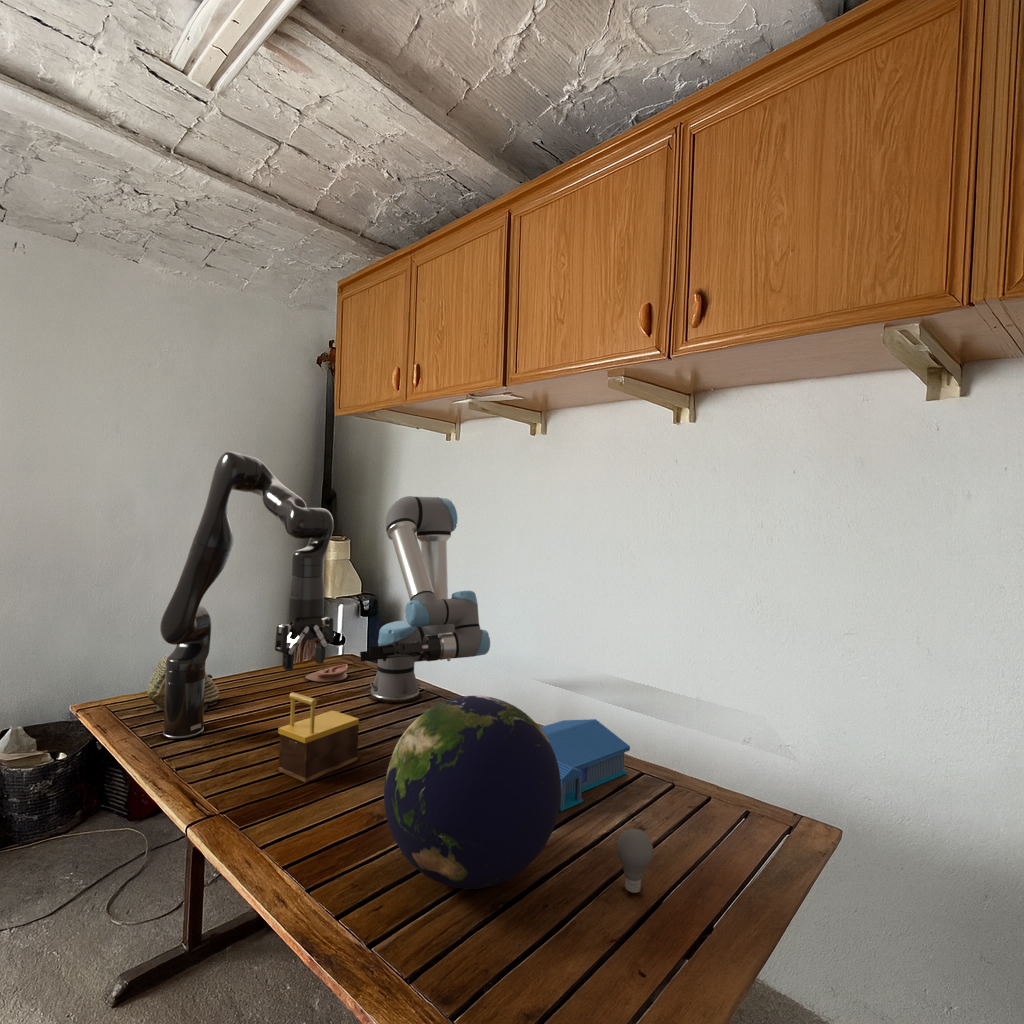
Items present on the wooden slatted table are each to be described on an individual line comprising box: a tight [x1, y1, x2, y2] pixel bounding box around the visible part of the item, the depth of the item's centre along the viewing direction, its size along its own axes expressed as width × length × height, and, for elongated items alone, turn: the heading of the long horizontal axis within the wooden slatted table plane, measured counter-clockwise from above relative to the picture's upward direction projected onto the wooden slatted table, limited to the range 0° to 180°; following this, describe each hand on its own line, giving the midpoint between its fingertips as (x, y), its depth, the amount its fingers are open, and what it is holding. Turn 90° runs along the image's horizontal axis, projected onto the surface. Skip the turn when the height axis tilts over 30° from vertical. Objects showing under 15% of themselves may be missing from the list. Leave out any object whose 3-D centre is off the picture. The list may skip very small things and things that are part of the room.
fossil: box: [147, 654, 221, 712], centre depth 185 cm, size 9×18×15 cm, turn 132°
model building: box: [539, 718, 631, 812], centre depth 145 cm, size 39×24×10 cm, turn 132°
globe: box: [383, 694, 561, 890], centre depth 108 cm, size 30×30×30 cm
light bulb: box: [615, 828, 654, 894], centre depth 106 cm, size 6×6×10 cm
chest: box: [278, 723, 360, 783], centre depth 149 cm, size 15×9×9 cm, turn 147°
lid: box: [277, 691, 360, 743], centre depth 149 cm, size 16×9×9 cm, turn 147°
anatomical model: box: [304, 663, 349, 683], centre depth 219 cm, size 13×4×12 cm
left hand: (304, 666), depth 144 cm, fingers open, 8 cm apart
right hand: (364, 654), depth 176 cm, fingers open, 13 cm apart
